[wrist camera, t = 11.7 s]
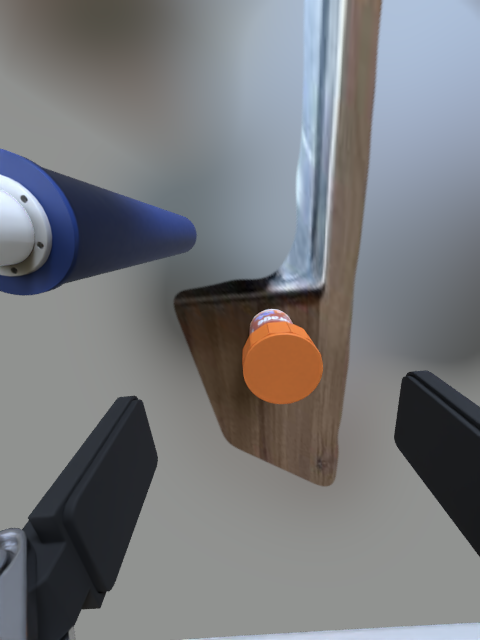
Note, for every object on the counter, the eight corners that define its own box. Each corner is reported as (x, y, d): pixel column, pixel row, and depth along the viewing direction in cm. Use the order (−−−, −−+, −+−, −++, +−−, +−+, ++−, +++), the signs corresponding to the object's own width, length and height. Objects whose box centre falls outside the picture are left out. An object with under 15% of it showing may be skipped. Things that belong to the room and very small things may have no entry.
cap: (232, 370, 28) (230, 387, 25) (261, 310, 26) (264, 321, 22) (292, 394, 29) (299, 414, 26) (326, 338, 26) (338, 353, 23)
